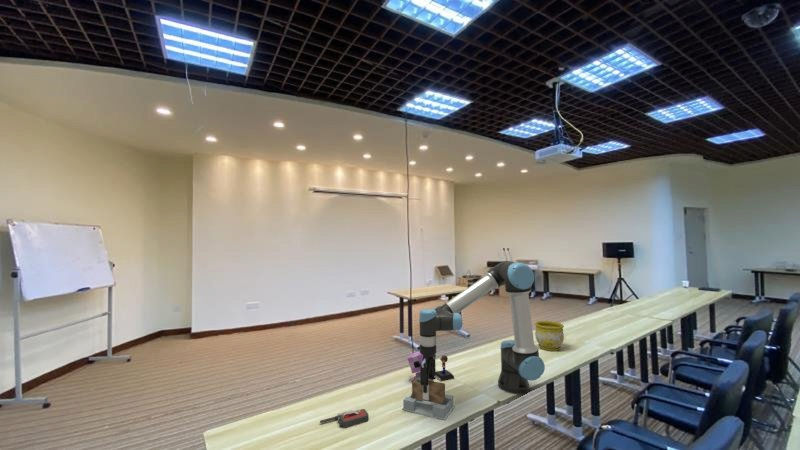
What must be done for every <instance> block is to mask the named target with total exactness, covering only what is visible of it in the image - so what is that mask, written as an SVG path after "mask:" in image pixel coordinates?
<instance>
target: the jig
mask: <svg viewBox="0 0 800 450" xmlns="http://www.w3.org/2000/svg"><path fill="white" fill-rule="evenodd" d="M402 403H403V404H402V405H403V406H402V408H401V409H402V410H403V411H405V412H410V413H415V414H418V415H423V416H426V417H431V418H434V417H435V419H438V418H440V419H439V420H442V419H443V421H446V420H447V418H448V417H449V415H450V414H451V412H452V411H453V410H454V408H455V407H456V406H455V404H454V395H450V394H446V393H445V400H444V402H443V403H442V404H438V403H433V402H429V401H424V400H420V399H415V398H412V393H410V395H408V396H405V397H404V398H403V400H402Z"/></svg>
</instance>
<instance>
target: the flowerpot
mask: <svg viewBox="0 0 800 450" xmlns="http://www.w3.org/2000/svg"><path fill="white" fill-rule="evenodd" d="M534 325H535V334H534V335H535V340H536V342H537V343H538V344H537V347H539V348H540V349H542V350H544V351H549V352H557V351H560V349H561V348H562V345H563V343H564V341H565V340H564V339H565V335H564V324H563V323H561V322H557V321H552V320H537V321H535V322H534Z"/></svg>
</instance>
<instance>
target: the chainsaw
mask: <svg viewBox="0 0 800 450" xmlns="http://www.w3.org/2000/svg"><path fill="white" fill-rule="evenodd" d="M369 419H370V418H369V412H368V411H367V410H366V409H365V408H361V409H359V408H358V409H357V410H353V409H352V410H348V411H344V412H339V413H337V415H335V416H333V417H329V418H325V419H321V420H320V421H319V423H320V424H323V423H326V422H331V421H334V420H337V422H338V423H339V427H342V428H343V429H346V428H350V427H353V426H356V425H359V424H363V423H366V422H367V423H368V422H369Z"/></svg>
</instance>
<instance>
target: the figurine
mask: <svg viewBox="0 0 800 450" xmlns="http://www.w3.org/2000/svg"><path fill="white" fill-rule="evenodd" d="M448 359H449V357H448V356H447V355H445V354H444V355H442V356H441V357H440V358H439V360H440V361H441V367H442V369H441V370H437V371H436V376H434V377H436V379H437V380H438V382H445V381H450V380H455V375H454V374H453V373H452V372H450V371H449V370H447V369H446V362H448Z"/></svg>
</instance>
